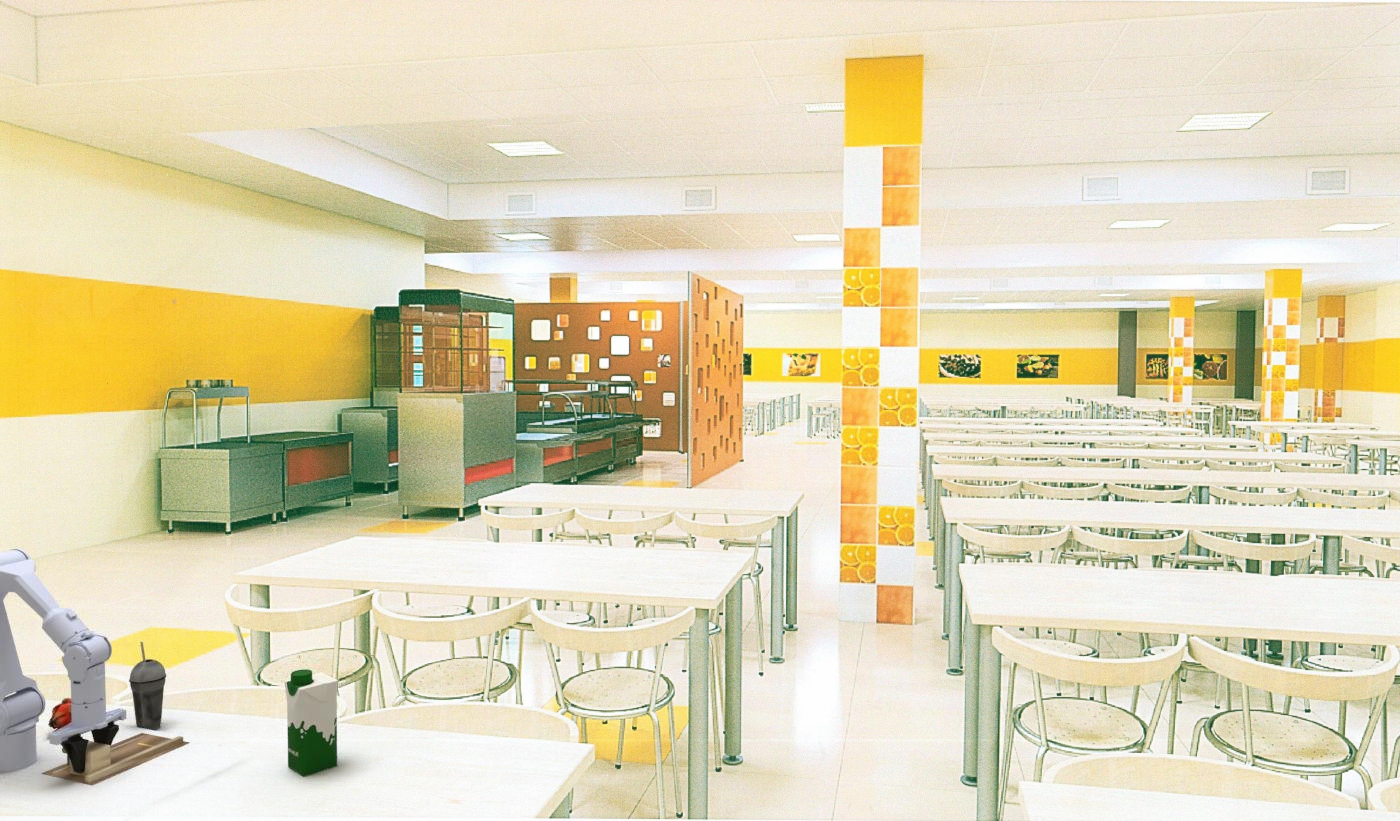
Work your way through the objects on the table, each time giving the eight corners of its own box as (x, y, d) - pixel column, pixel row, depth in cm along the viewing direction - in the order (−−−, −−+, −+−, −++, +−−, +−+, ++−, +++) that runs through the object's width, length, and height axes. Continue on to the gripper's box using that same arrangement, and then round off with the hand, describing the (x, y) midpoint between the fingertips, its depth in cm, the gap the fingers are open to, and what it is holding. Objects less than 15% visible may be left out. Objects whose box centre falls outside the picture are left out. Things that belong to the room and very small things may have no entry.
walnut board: (41, 780, 188) (41, 767, 188) (142, 739, 209) (141, 727, 209) (92, 792, 184) (92, 778, 183) (190, 749, 204) (190, 736, 204)
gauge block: (56, 769, 190) (55, 745, 190) (75, 761, 194) (75, 737, 193) (91, 777, 186) (91, 752, 186) (110, 769, 190) (110, 744, 190)
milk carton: (281, 766, 196) (280, 670, 195) (324, 753, 203) (323, 660, 202) (300, 779, 190) (299, 680, 189) (344, 765, 197) (343, 669, 196)
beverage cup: (174, 726, 216) (172, 639, 215) (140, 737, 210) (138, 647, 209) (156, 719, 220) (154, 633, 219) (123, 730, 214) (121, 641, 213)
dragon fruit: (104, 726, 220) (56, 754, 209) (78, 702, 221) (28, 729, 210) (117, 701, 217) (68, 728, 206) (90, 677, 218) (40, 703, 207)
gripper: (67, 714, 180) (68, 785, 181) (136, 689, 194) (138, 755, 195) (40, 709, 183) (42, 779, 184) (111, 685, 196) (113, 750, 197)
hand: (90, 766), depth 189 cm, fingers closed on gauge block, 4 cm apart
